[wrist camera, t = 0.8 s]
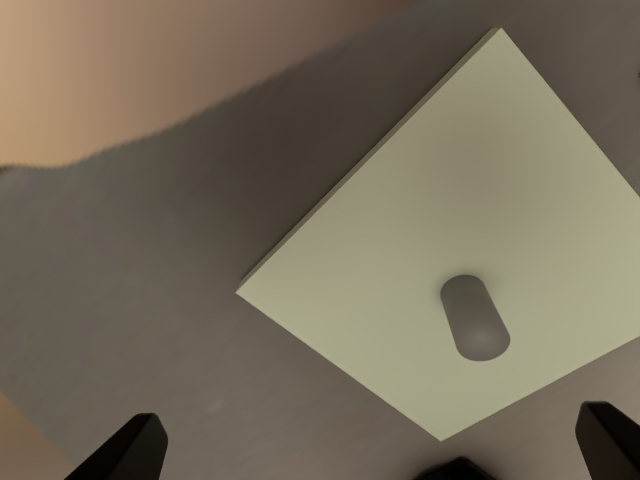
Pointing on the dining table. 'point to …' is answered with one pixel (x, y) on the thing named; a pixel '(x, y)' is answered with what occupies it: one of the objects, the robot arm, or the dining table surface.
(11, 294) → the dining table surface
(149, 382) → the dining table surface
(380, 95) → the dining table surface
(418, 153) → the pale green base plate
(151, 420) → the robot arm
